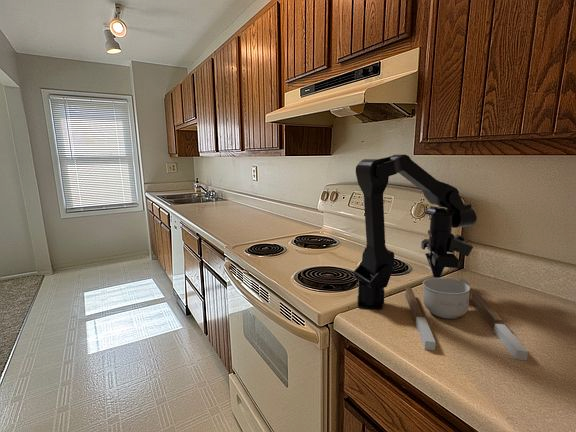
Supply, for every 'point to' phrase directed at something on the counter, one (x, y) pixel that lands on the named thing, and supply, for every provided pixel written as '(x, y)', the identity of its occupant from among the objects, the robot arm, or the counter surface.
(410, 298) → the cradle
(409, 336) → the counter surface
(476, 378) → the counter surface
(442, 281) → the teacup
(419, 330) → the bar
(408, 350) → the counter surface
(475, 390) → the counter surface
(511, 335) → the marker right
